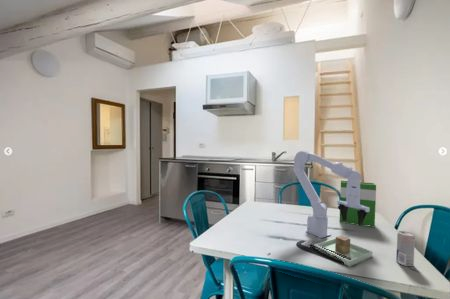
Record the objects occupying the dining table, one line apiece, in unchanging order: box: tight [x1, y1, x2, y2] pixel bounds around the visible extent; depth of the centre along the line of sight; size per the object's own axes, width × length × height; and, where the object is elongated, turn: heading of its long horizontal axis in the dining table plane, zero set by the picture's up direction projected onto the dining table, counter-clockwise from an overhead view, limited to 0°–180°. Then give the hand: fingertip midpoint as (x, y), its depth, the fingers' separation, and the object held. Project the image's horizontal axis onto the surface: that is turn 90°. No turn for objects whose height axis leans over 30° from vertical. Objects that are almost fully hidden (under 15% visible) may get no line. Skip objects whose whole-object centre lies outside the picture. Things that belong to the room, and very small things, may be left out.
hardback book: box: [339, 180, 377, 227], centre depth 135 cm, size 18×7×24 cm, turn 63°
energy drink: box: [396, 230, 416, 267], centre depth 89 cm, size 5×5×12 cm
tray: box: [313, 237, 373, 268], centre depth 97 cm, size 16×16×2 cm
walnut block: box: [335, 234, 351, 255], centre depth 96 cm, size 4×4×6 cm
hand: (352, 222), depth 110 cm, fingers open, 7 cm apart
